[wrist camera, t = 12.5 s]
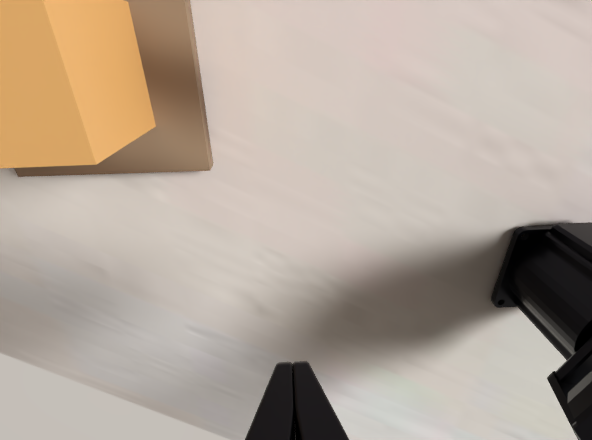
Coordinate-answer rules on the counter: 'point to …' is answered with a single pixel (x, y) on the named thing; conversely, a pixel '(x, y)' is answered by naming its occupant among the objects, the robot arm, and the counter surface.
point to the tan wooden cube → (69, 82)
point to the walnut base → (160, 99)
